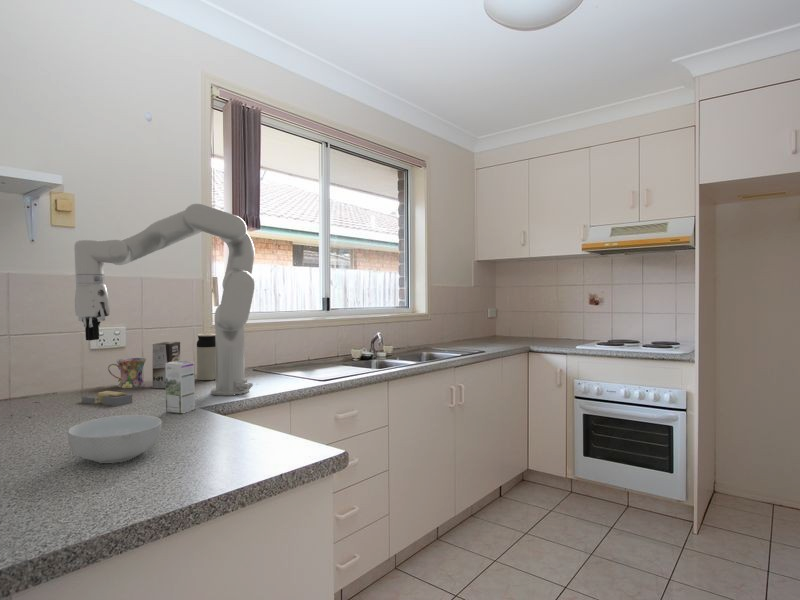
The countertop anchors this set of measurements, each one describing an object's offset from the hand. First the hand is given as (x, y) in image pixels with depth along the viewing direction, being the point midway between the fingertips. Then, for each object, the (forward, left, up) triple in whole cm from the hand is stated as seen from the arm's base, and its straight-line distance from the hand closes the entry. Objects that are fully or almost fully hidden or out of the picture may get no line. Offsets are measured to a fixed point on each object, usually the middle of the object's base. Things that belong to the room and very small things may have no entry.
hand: (92, 339), depth 152 cm
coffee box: (+3, -31, -20) cm, 37 cm away
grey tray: (-7, 0, -20) cm, 21 cm away
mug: (+11, -21, -20) cm, 31 cm away
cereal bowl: (-53, +31, -20) cm, 65 cm away
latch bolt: (-9, 0, -19) cm, 21 cm away
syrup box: (-33, -4, -20) cm, 39 cm away
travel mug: (0, -48, -20) cm, 52 cm away
